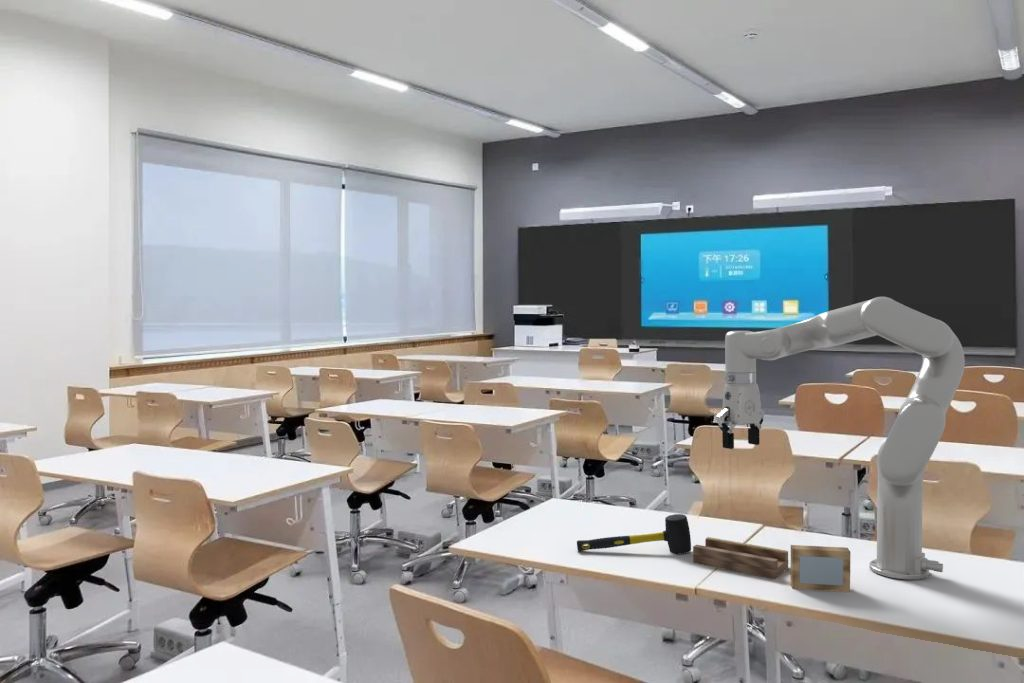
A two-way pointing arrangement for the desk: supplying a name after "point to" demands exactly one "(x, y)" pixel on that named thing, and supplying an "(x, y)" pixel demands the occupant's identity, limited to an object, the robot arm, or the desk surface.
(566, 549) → the desk surface
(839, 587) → the wooden picture frame
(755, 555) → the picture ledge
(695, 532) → the desk surface
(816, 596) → the desk surface
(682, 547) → the mallet
